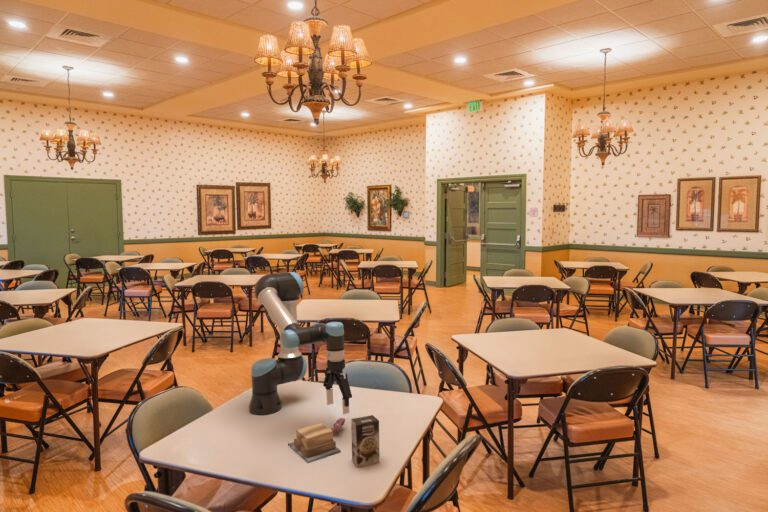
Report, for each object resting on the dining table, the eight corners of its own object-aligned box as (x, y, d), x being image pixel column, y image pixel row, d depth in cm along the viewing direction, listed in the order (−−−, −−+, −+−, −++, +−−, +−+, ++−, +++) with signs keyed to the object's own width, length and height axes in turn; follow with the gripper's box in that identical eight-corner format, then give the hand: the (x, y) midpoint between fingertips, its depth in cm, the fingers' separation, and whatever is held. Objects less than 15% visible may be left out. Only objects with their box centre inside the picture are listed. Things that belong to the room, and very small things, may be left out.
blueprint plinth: (288, 445, 198) (287, 426, 197) (319, 435, 206) (318, 417, 205) (307, 463, 183) (307, 442, 183) (340, 452, 191) (339, 432, 191)
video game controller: (335, 441, 204) (342, 427, 203) (326, 435, 205) (332, 421, 204) (342, 431, 214) (348, 417, 213) (333, 425, 214) (339, 412, 213)
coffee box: (357, 467, 179) (356, 425, 178) (351, 460, 185) (350, 418, 184) (380, 462, 183) (379, 420, 181) (373, 454, 189) (372, 414, 187)
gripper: (314, 354, 214) (316, 402, 216) (343, 367, 194) (345, 420, 195) (329, 351, 219) (331, 398, 220) (359, 364, 198) (361, 415, 200)
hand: (337, 408), depth 208 cm, fingers open, 13 cm apart
